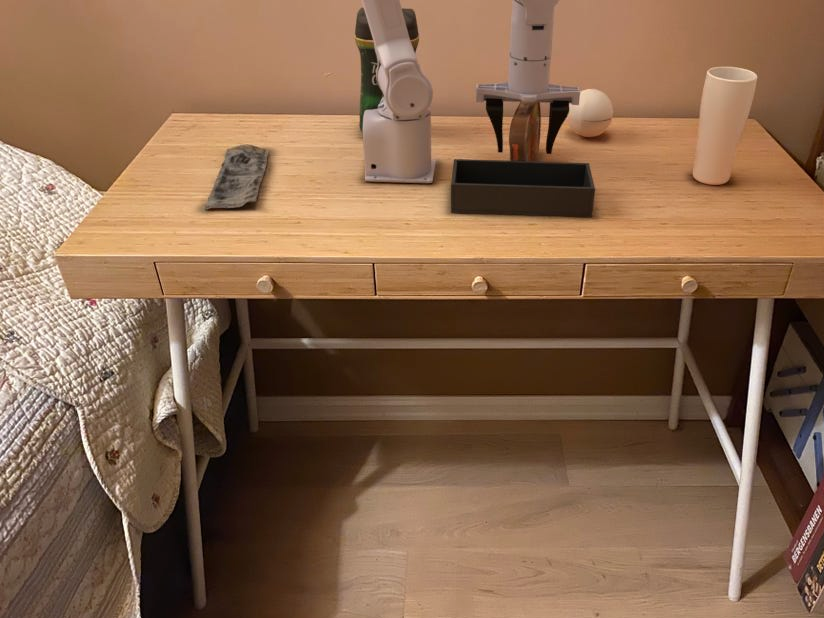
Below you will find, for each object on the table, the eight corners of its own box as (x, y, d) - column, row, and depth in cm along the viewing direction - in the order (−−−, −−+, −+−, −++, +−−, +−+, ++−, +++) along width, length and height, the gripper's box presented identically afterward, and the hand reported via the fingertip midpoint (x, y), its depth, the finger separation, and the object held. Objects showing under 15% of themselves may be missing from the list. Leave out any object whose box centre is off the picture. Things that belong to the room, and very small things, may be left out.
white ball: (568, 144, 124) (572, 97, 120) (562, 127, 130) (566, 82, 126) (631, 144, 125) (637, 98, 121) (622, 127, 131) (628, 83, 127)
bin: (450, 213, 104) (450, 184, 101) (453, 186, 111) (453, 158, 108) (591, 217, 104) (595, 188, 101) (586, 190, 111) (589, 162, 108)
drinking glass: (738, 175, 116) (762, 70, 107) (729, 192, 111) (753, 84, 102) (692, 166, 118) (712, 63, 110) (681, 182, 113) (701, 76, 105)
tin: (526, 185, 111) (529, 126, 106) (504, 182, 112) (506, 124, 107) (541, 146, 123) (545, 92, 118) (521, 144, 124) (524, 90, 119)
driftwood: (228, 150, 119) (226, 137, 118) (274, 150, 120) (273, 136, 118) (204, 213, 102) (201, 198, 101) (257, 212, 103) (255, 197, 102)
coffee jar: (358, 140, 123) (350, 14, 112) (362, 123, 130) (354, 1, 119) (420, 141, 124) (418, 15, 113) (421, 123, 130) (418, 2, 119)
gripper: (476, 62, 105) (474, 159, 113) (585, 65, 105) (575, 162, 113) (477, 47, 111) (475, 141, 119) (581, 50, 111) (572, 144, 119)
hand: (524, 150), depth 116 cm, fingers open, 6 cm apart
